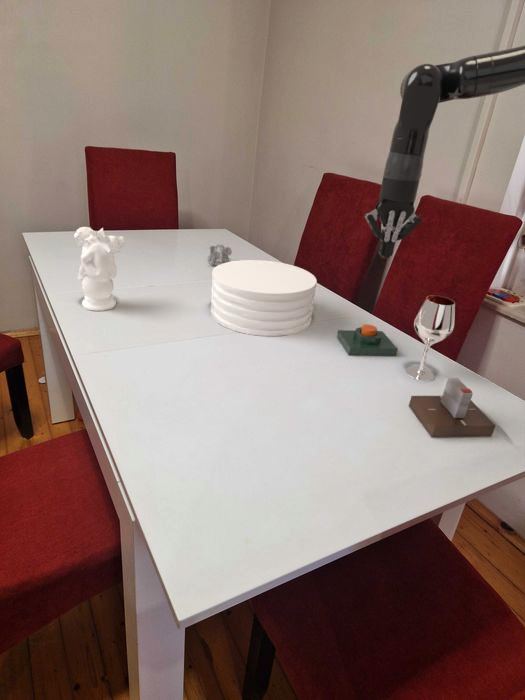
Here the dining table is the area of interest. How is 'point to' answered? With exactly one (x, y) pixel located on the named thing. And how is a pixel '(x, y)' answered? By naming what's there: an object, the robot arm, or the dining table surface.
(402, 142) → the robot arm
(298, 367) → the dining table surface
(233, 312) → the plate stack
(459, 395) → the tap knob
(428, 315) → the wineglass
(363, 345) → the button box
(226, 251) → the elephant statuette
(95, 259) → the cherub figurine
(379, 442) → the dining table surface
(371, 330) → the button
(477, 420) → the panel
